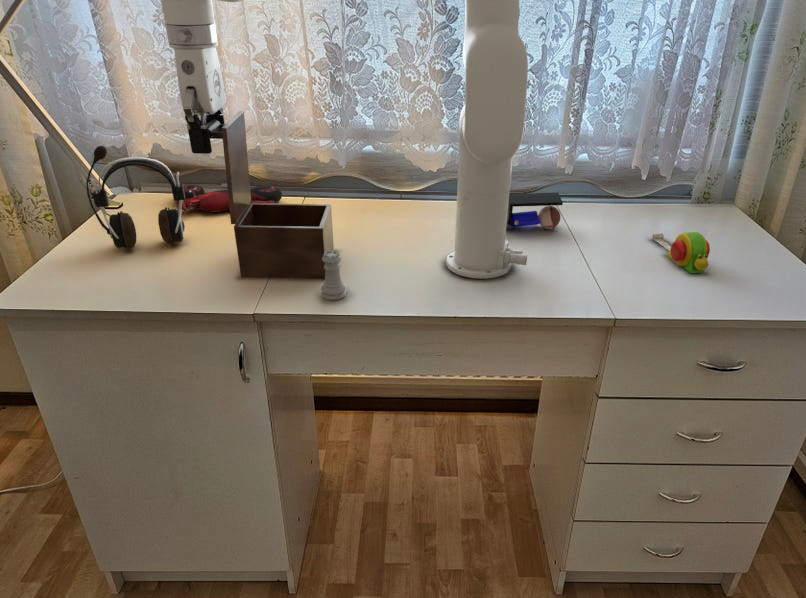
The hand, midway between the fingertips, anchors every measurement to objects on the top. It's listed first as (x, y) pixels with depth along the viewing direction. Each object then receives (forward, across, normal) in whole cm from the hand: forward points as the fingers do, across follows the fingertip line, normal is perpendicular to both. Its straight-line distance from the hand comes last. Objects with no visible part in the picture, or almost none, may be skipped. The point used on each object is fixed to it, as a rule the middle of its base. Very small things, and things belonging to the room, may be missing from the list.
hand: (210, 145), depth 114 cm
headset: (+22, +8, +18) cm, 29 cm away
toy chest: (+22, 0, -12) cm, 25 cm away
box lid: (+4, 0, -5) cm, 6 cm away
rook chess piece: (+22, -13, -22) cm, 34 cm away
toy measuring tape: (+23, +6, -89) cm, 92 cm away
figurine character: (+23, +21, -60) cm, 67 cm away
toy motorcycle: (+22, +30, +8) cm, 38 cm away
